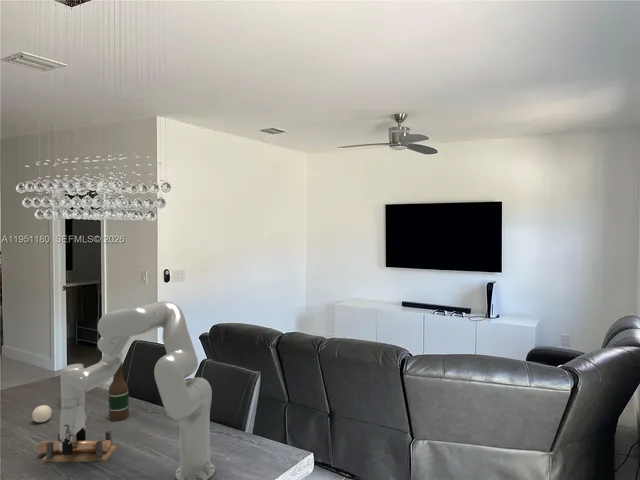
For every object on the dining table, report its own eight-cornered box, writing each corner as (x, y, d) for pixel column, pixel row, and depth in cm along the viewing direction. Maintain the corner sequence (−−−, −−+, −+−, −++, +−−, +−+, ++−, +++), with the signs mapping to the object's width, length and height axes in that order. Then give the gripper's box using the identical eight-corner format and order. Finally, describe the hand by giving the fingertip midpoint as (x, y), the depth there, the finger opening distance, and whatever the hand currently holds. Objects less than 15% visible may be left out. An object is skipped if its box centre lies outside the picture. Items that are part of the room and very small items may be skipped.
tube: (111, 449, 167) (111, 437, 167) (106, 454, 163) (106, 443, 163) (43, 450, 166) (43, 438, 166) (37, 455, 162) (37, 444, 162)
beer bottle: (104, 419, 194) (103, 363, 193) (120, 412, 201) (119, 358, 200) (117, 423, 191) (116, 366, 190) (132, 416, 198) (131, 360, 196)
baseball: (56, 418, 196) (55, 402, 196) (44, 425, 189) (43, 409, 188) (41, 417, 197) (40, 401, 196) (28, 424, 189) (28, 408, 189)
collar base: (116, 448, 170) (116, 430, 169) (106, 460, 161) (105, 442, 160) (55, 449, 169) (55, 432, 169) (41, 462, 160) (41, 443, 160)
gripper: (74, 391, 172) (75, 436, 173) (49, 410, 155) (50, 460, 156) (95, 391, 173) (96, 436, 173) (71, 410, 155) (73, 460, 156)
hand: (74, 447), depth 165 cm, fingers open, 9 cm apart
